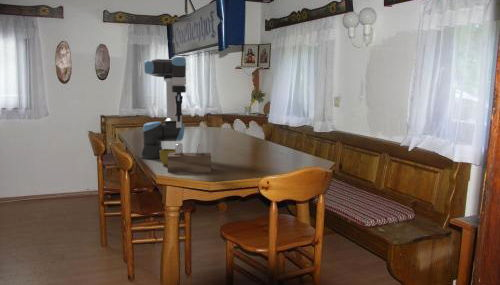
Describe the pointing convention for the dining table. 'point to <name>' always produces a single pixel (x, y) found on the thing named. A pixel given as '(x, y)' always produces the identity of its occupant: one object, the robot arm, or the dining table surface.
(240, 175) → the dining table surface
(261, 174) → the dining table surface
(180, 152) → the peg
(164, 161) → the flower pot
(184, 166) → the tan grooved block
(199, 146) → the peg
